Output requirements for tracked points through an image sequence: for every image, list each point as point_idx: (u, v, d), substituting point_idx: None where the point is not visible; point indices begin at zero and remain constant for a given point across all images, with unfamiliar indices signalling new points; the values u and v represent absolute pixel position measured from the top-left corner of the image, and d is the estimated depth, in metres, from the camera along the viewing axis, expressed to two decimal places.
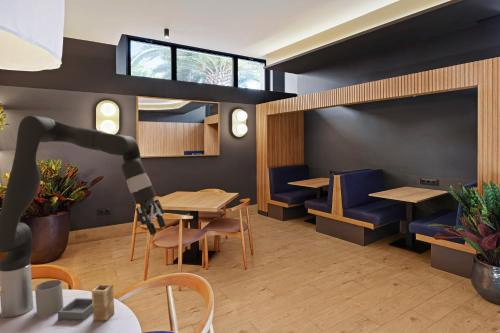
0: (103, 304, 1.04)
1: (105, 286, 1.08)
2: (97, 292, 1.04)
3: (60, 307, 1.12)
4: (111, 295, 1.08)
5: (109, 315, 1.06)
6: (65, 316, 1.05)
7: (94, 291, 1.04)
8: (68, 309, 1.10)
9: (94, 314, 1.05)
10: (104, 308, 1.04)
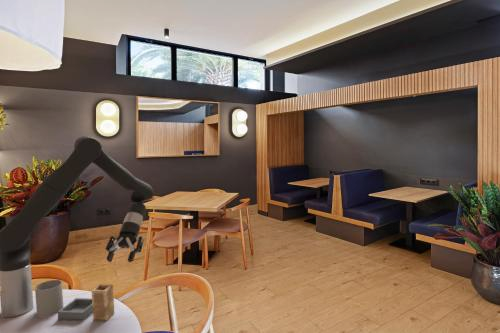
0: (103, 304, 1.04)
1: (105, 286, 1.08)
2: (97, 292, 1.04)
3: (60, 307, 1.12)
4: (111, 295, 1.08)
5: (109, 315, 1.06)
6: (65, 316, 1.05)
7: (94, 291, 1.04)
8: (68, 309, 1.10)
9: (94, 314, 1.05)
10: (104, 308, 1.04)
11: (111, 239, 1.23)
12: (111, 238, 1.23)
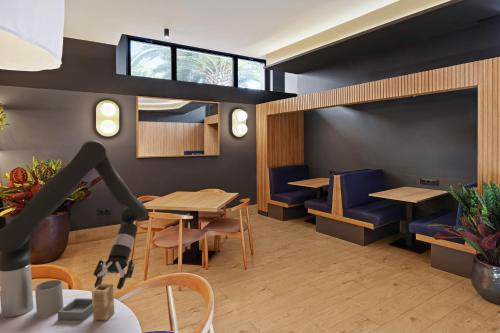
0: (103, 304, 1.04)
1: (105, 286, 1.08)
2: (97, 292, 1.04)
3: (60, 307, 1.12)
4: (111, 295, 1.08)
5: (109, 315, 1.06)
6: (65, 316, 1.05)
7: (94, 291, 1.04)
8: (68, 309, 1.10)
9: (94, 314, 1.05)
10: (104, 308, 1.04)
11: (100, 263, 1.15)
12: (100, 262, 1.15)
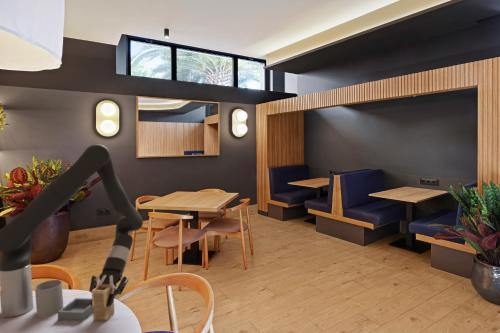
0: (103, 304, 1.04)
1: (105, 286, 1.08)
2: (97, 292, 1.04)
3: (60, 307, 1.12)
4: None
5: (109, 315, 1.06)
6: (65, 316, 1.05)
7: (94, 291, 1.04)
8: (68, 309, 1.10)
9: (94, 314, 1.05)
10: (104, 308, 1.04)
11: (93, 279, 1.10)
12: (93, 278, 1.11)
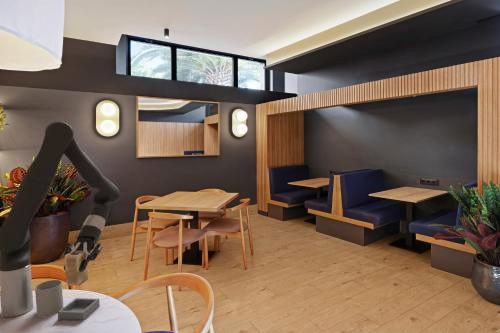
0: (76, 268, 1.06)
1: (79, 252, 1.10)
2: (70, 257, 1.06)
3: (60, 307, 1.12)
4: None
5: (82, 280, 1.08)
6: (65, 316, 1.05)
7: (67, 256, 1.06)
8: (68, 309, 1.10)
9: (67, 278, 1.07)
10: (77, 272, 1.06)
11: (68, 246, 1.13)
12: (67, 245, 1.13)
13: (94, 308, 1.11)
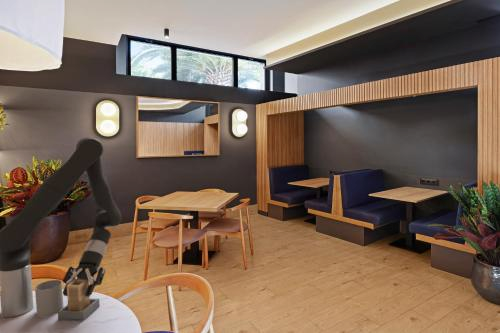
0: (78, 298, 1.07)
1: (81, 281, 1.11)
2: (72, 287, 1.07)
3: (60, 307, 1.12)
4: (86, 290, 1.11)
5: (84, 309, 1.09)
6: (65, 316, 1.05)
7: (69, 286, 1.07)
8: None
9: (69, 308, 1.08)
10: (79, 302, 1.07)
11: (69, 270, 1.14)
12: (70, 269, 1.14)
13: (94, 308, 1.11)
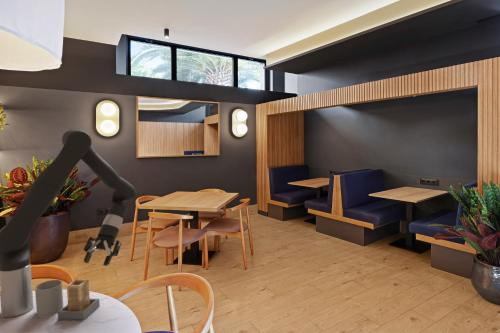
0: (78, 298, 1.07)
1: (81, 281, 1.11)
2: (72, 287, 1.07)
3: (60, 307, 1.12)
4: (86, 290, 1.11)
5: (84, 309, 1.09)
6: (65, 316, 1.05)
7: (69, 286, 1.07)
8: None
9: (69, 308, 1.08)
10: (79, 302, 1.07)
11: (89, 240, 1.26)
12: (90, 239, 1.26)
13: (94, 308, 1.11)
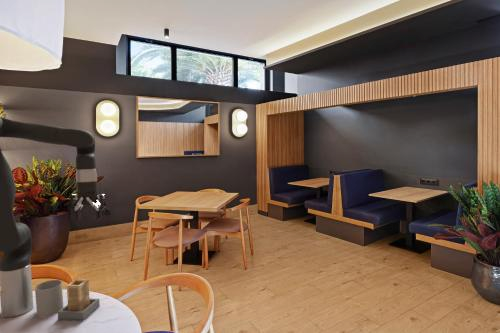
0: (78, 298, 1.07)
1: (81, 281, 1.11)
2: (72, 287, 1.07)
3: (60, 307, 1.12)
4: (86, 290, 1.11)
5: (84, 309, 1.09)
6: (65, 316, 1.05)
7: (69, 286, 1.07)
8: None
9: (69, 308, 1.08)
10: (79, 302, 1.07)
11: (72, 198, 1.20)
12: (71, 197, 1.20)
13: (94, 308, 1.11)
